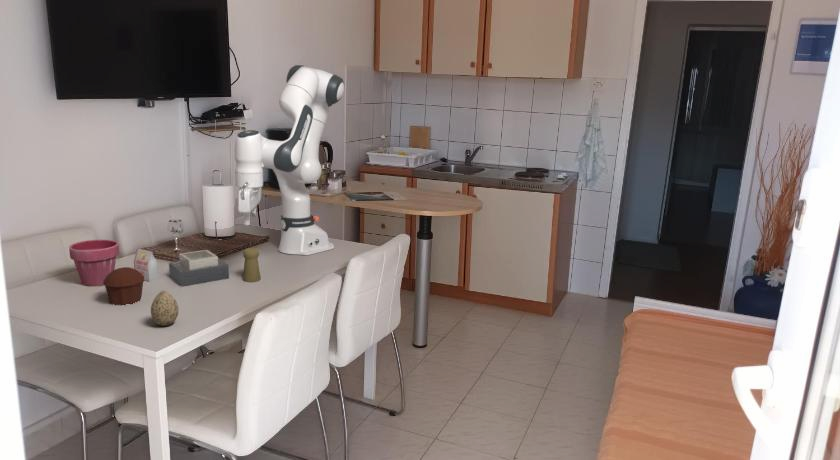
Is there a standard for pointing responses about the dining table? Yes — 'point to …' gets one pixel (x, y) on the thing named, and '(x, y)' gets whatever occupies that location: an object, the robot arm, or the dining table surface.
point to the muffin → (124, 286)
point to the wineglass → (175, 229)
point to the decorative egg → (164, 309)
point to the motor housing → (198, 268)
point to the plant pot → (94, 260)
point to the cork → (251, 265)
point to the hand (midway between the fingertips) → (250, 221)
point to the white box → (146, 265)
